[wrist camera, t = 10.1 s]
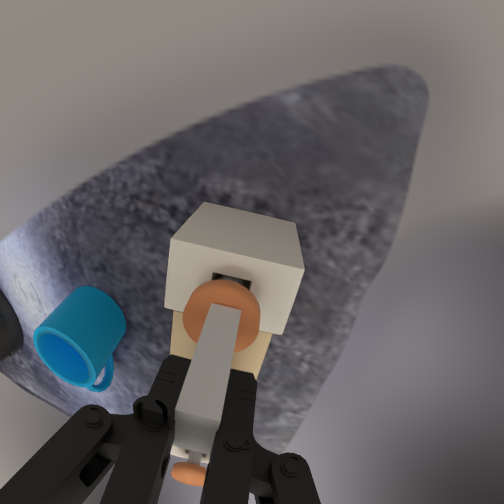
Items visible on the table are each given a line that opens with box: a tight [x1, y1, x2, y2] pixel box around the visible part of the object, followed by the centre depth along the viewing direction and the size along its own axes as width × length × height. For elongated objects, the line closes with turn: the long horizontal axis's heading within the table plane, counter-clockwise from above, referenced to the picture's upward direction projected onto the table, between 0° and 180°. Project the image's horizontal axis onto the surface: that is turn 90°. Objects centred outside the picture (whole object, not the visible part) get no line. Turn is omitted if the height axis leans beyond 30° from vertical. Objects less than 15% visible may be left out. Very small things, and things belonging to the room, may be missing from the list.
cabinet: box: [164, 202, 305, 335], centre depth 22 cm, size 8×5×9 cm, turn 77°
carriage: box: [170, 310, 273, 379], centre depth 25 cm, size 7×6×8 cm
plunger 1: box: [171, 450, 207, 486], centre depth 26 cm, size 4×4×5 cm
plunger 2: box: [182, 275, 260, 353], centre depth 17 cm, size 4×4×5 cm
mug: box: [33, 286, 126, 392], centre depth 29 cm, size 12×8×8 cm
